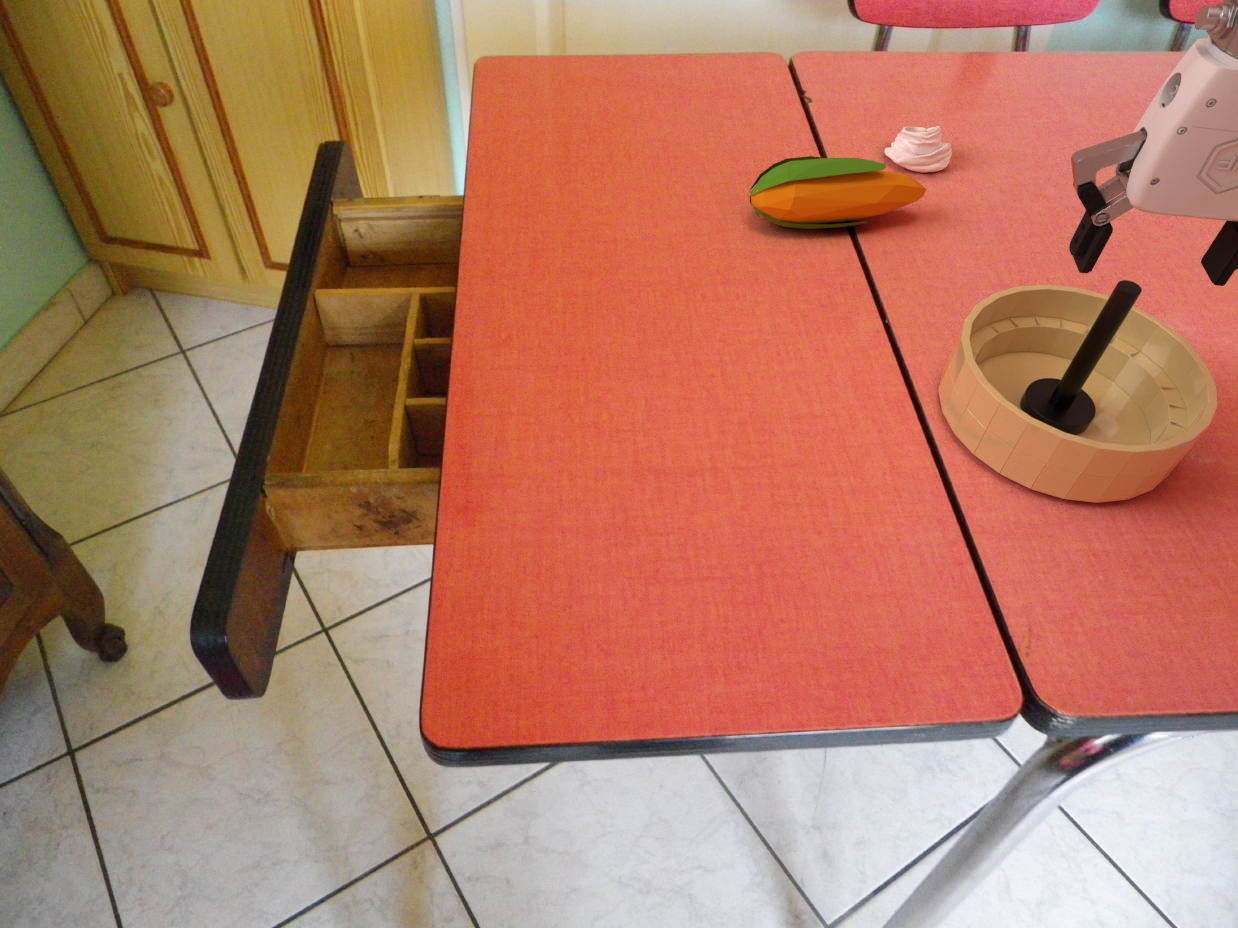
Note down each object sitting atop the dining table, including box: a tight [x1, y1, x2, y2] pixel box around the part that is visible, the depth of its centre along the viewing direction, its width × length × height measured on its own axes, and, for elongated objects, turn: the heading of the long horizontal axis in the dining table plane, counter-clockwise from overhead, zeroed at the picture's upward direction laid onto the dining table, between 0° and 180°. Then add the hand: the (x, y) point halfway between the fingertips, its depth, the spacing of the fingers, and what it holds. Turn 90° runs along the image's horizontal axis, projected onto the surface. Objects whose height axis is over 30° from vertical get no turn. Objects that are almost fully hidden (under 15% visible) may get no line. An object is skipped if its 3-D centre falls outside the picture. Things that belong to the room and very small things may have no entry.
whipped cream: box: [884, 125, 953, 174], centre depth 104 cm, size 8×7×5 cm
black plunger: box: [1020, 279, 1143, 435], centre depth 71 cm, size 6×6×14 cm
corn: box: [749, 155, 927, 230], centre depth 94 cm, size 7×8×20 cm
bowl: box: [938, 284, 1219, 504], centre depth 74 cm, size 20×20×7 cm
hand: (1145, 268), depth 64 cm, fingers open, 9 cm apart
